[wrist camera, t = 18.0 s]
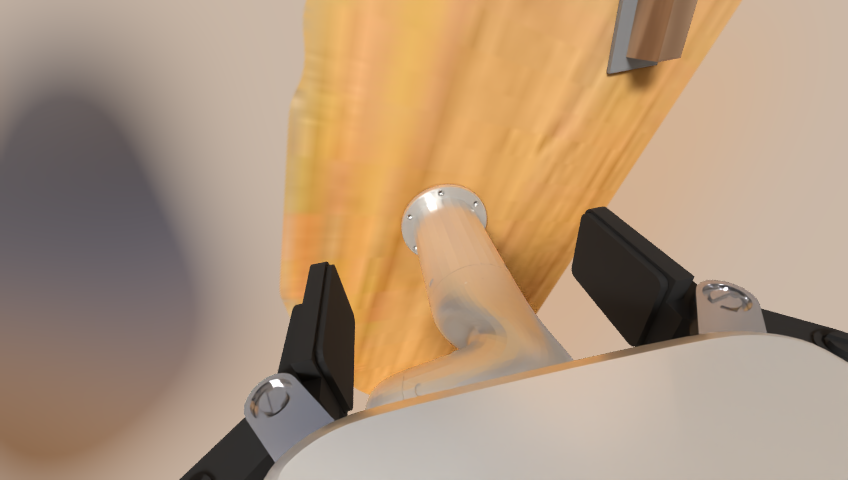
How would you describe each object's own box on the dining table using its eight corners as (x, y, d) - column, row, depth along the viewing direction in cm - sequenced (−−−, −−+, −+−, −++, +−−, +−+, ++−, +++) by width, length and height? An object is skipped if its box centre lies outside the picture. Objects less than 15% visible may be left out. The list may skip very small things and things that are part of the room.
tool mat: (653, 64, 39) (657, 64, 38) (606, 72, 39) (609, 73, 38) (690, -85, 31) (696, -86, 31) (633, -76, 31) (637, -77, 31)
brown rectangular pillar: (673, -62, 32) (719, -74, 28) (646, 53, 37) (680, 57, 33) (649, -58, 31) (692, -69, 27) (626, 57, 37) (658, 61, 33)
